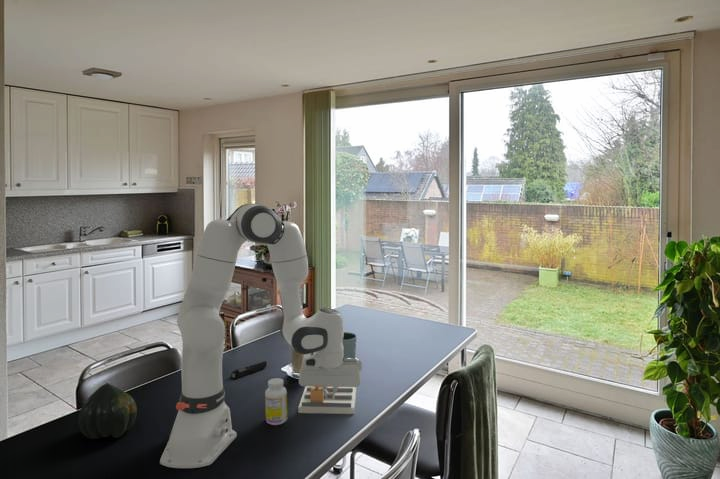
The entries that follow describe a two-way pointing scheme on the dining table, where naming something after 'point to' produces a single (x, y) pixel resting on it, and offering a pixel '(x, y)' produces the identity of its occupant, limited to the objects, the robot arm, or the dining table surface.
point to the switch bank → (329, 402)
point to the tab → (317, 394)
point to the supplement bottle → (276, 402)
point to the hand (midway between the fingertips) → (330, 398)
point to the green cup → (349, 344)
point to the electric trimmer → (248, 370)
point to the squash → (107, 413)
